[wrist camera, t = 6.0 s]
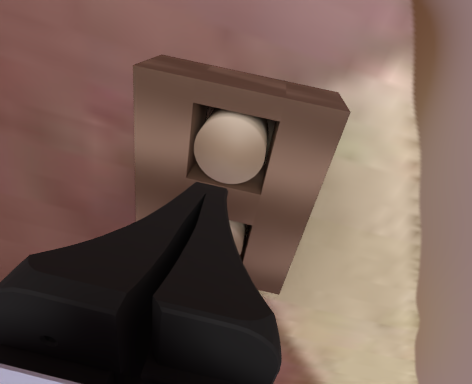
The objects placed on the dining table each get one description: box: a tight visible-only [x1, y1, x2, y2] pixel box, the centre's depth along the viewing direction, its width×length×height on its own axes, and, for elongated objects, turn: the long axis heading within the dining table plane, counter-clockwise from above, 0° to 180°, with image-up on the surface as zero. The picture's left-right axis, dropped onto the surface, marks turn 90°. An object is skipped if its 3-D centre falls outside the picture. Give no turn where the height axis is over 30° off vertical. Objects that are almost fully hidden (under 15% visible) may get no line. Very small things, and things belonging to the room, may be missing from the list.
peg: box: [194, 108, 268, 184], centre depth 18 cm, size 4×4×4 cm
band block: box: [133, 55, 350, 294], centre depth 20 cm, size 14×11×4 cm
